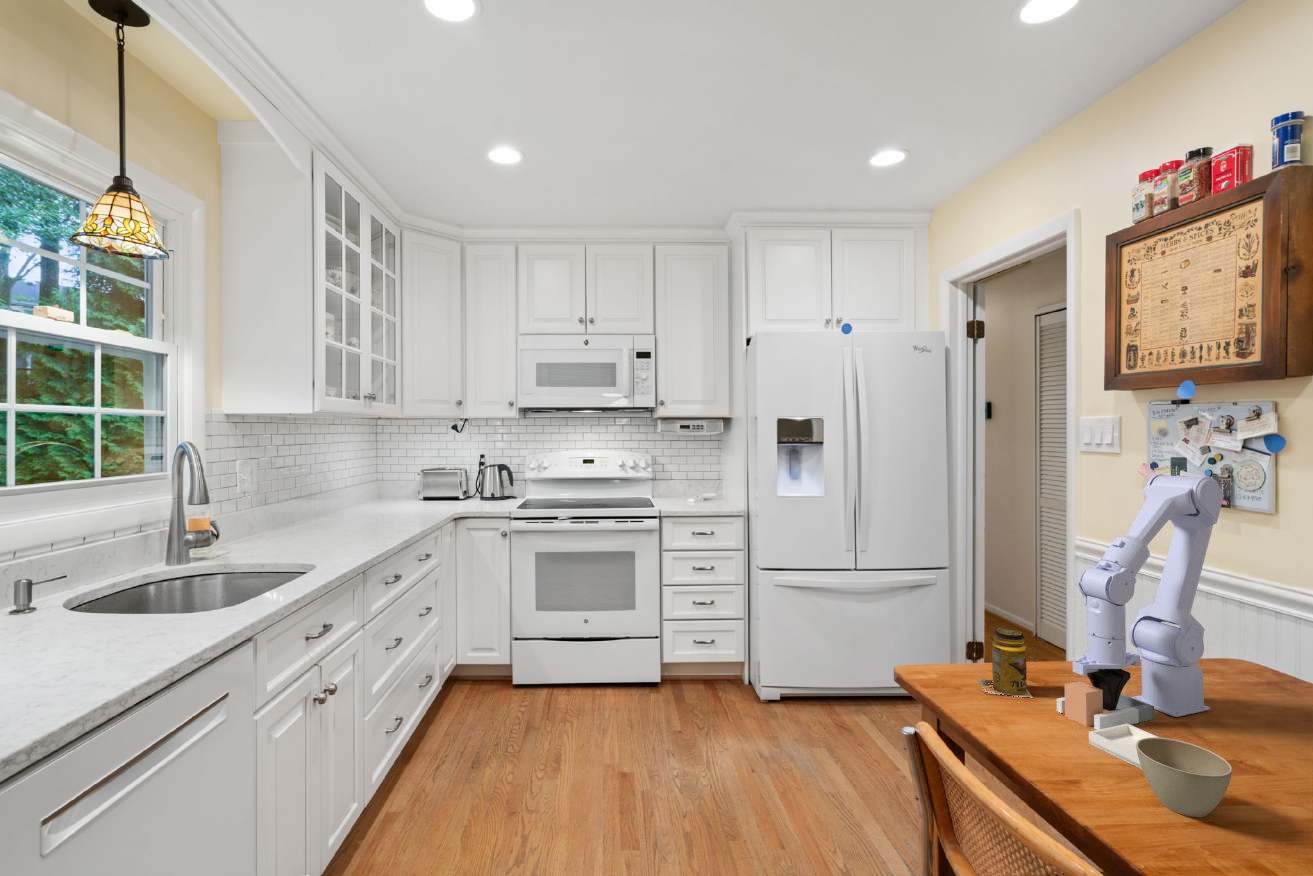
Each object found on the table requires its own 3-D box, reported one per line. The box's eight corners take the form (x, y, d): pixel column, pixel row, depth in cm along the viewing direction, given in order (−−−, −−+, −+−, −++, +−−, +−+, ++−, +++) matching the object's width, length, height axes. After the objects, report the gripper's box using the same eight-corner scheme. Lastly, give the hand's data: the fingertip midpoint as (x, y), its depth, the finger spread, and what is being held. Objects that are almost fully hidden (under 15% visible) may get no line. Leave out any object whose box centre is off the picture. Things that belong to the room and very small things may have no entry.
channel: (1093, 704, 114) (1093, 691, 114) (1138, 722, 107) (1138, 709, 107) (1056, 711, 112) (1056, 698, 112) (1099, 731, 104) (1099, 717, 104)
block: (1081, 713, 111) (1080, 681, 111) (1102, 723, 107) (1102, 689, 107) (1065, 716, 110) (1064, 684, 110) (1086, 726, 106) (1085, 692, 106)
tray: (1127, 735, 102) (1127, 723, 102) (1187, 761, 94) (1187, 749, 94) (1088, 743, 100) (1088, 731, 100) (1147, 772, 91) (1147, 759, 91)
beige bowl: (1118, 788, 87) (1117, 739, 87) (1181, 783, 88) (1180, 735, 88) (1184, 832, 77) (1183, 777, 77) (1254, 827, 78) (1253, 772, 78)
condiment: (1033, 699, 117) (1032, 638, 117) (985, 694, 120) (984, 634, 120) (1022, 684, 124) (1022, 626, 124) (977, 680, 127) (976, 623, 127)
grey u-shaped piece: (1109, 701, 116) (1108, 688, 116) (1154, 719, 108) (1154, 706, 108) (1093, 704, 114) (1093, 691, 114) (1138, 722, 107) (1138, 709, 107)
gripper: (1112, 624, 116) (1113, 694, 116) (1056, 632, 112) (1057, 704, 112) (1151, 635, 109) (1153, 709, 109) (1094, 644, 105) (1095, 721, 105)
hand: (1107, 708), depth 110 cm, fingers closed
